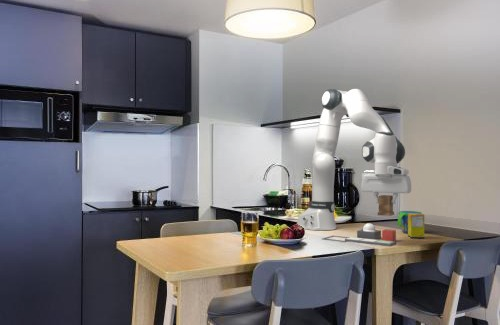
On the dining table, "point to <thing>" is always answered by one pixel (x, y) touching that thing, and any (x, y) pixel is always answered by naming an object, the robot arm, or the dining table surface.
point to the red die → (389, 235)
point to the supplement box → (416, 225)
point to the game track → (370, 241)
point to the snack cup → (404, 220)
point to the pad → (335, 240)
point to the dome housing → (369, 234)
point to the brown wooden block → (385, 205)
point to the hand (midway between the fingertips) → (385, 203)
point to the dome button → (369, 227)
